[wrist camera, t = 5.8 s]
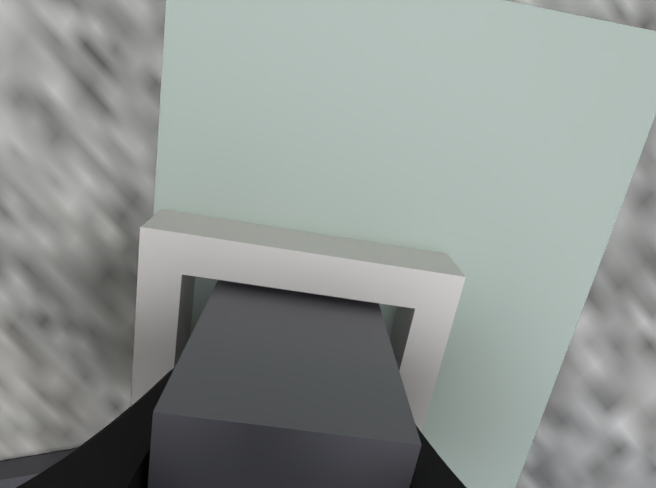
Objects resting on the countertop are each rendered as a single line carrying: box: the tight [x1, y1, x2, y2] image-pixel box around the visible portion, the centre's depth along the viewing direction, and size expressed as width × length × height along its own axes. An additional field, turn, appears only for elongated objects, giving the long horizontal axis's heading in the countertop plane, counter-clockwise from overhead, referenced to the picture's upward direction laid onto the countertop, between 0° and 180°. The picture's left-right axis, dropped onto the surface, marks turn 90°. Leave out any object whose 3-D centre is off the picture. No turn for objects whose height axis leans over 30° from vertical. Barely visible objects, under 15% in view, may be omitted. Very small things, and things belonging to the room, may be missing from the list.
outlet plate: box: [131, 0, 656, 488], centre depth 13 cm, size 16×12×3 cm
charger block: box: [147, 280, 421, 488], centre depth 10 cm, size 4×4×6 cm
